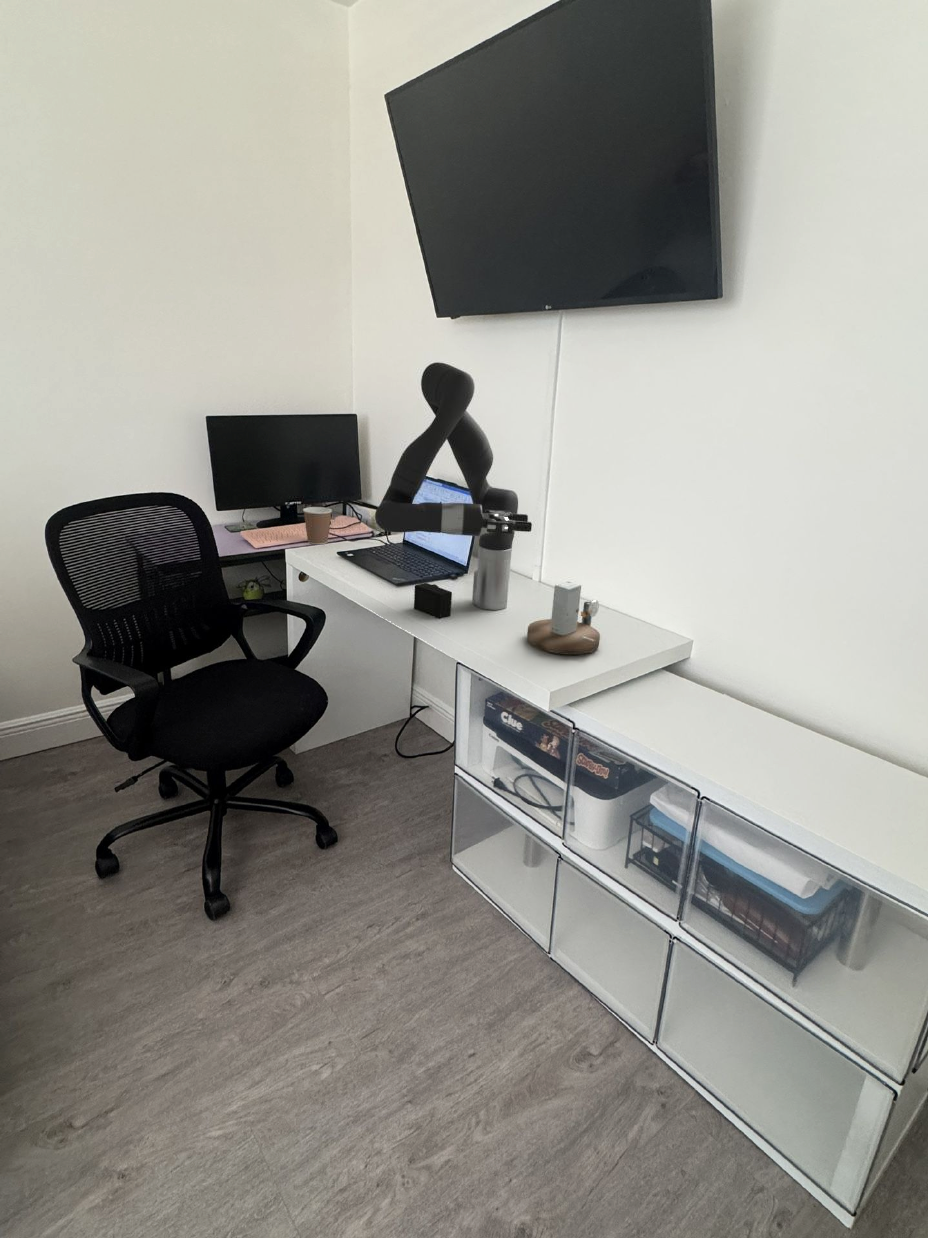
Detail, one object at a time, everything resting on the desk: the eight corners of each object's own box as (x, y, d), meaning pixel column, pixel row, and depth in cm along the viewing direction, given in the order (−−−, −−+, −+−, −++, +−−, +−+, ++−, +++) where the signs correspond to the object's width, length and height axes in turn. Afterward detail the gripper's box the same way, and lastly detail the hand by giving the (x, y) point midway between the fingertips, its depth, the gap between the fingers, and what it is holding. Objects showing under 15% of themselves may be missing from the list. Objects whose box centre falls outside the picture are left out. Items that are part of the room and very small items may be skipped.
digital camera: (454, 615, 191) (455, 590, 188) (439, 619, 187) (441, 594, 185) (428, 605, 197) (429, 581, 195) (413, 609, 194) (414, 584, 191)
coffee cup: (336, 540, 260) (336, 508, 256) (325, 546, 251) (324, 513, 247) (310, 537, 262) (310, 505, 258) (298, 543, 253) (297, 510, 249)
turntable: (512, 639, 174) (513, 630, 173) (551, 622, 188) (552, 613, 187) (575, 660, 164) (577, 650, 163) (611, 641, 177) (612, 632, 176)
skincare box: (563, 636, 171) (569, 589, 167) (548, 631, 174) (553, 585, 170) (577, 630, 176) (583, 584, 172) (562, 625, 179) (567, 580, 175)
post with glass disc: (586, 636, 182) (590, 602, 178) (576, 633, 183) (580, 599, 180) (595, 631, 185) (599, 598, 182) (585, 628, 187) (589, 595, 184)
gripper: (462, 509, 157) (534, 513, 157) (461, 497, 170) (527, 501, 171) (460, 541, 159) (531, 545, 160) (459, 528, 173) (524, 531, 173)
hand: (529, 522), depth 165 cm, fingers open, 8 cm apart
